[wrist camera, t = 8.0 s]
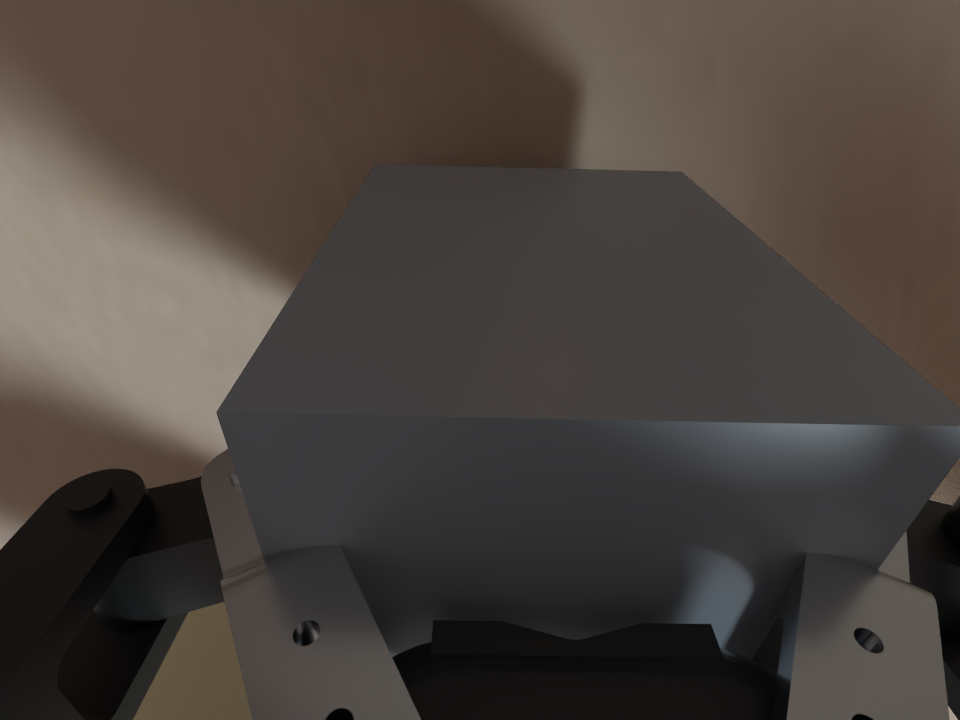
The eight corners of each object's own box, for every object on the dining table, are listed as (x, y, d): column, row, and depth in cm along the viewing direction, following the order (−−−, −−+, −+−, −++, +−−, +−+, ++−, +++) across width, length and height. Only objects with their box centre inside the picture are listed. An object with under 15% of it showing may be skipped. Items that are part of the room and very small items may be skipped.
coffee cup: (152, 517, 23) (-105, 912, 13) (346, 465, 21) (220, 878, 11) (270, 630, 28) (149, 981, 18) (436, 595, 26) (405, 966, 16)
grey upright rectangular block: (681, 171, 12) (981, 427, 5) (626, 409, 16) (747, 747, 9) (374, 163, 12) (215, 412, 5) (394, 404, 16) (323, 743, 9)
